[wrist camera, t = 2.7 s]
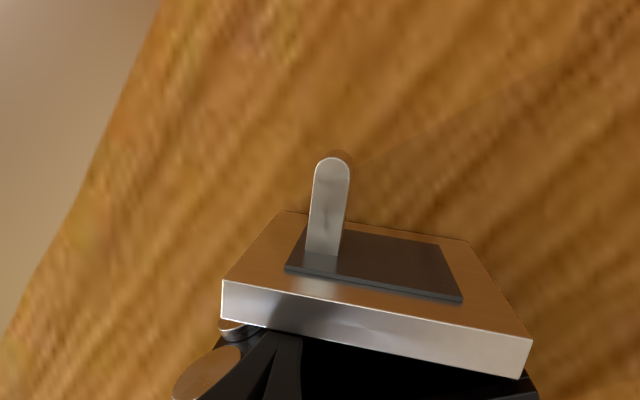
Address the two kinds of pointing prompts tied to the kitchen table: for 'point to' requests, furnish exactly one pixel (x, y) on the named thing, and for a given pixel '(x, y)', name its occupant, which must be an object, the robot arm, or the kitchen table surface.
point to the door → (374, 286)
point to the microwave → (352, 372)
